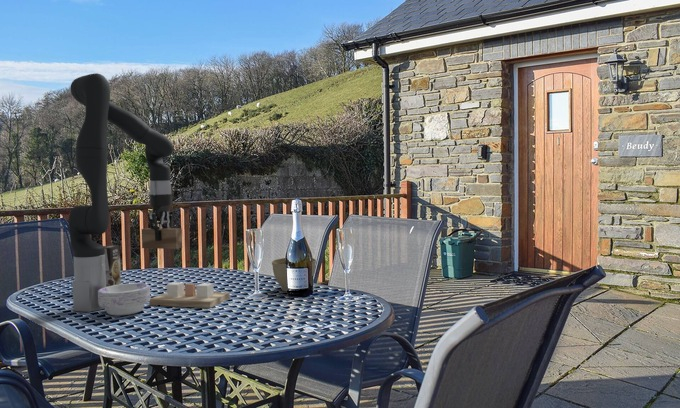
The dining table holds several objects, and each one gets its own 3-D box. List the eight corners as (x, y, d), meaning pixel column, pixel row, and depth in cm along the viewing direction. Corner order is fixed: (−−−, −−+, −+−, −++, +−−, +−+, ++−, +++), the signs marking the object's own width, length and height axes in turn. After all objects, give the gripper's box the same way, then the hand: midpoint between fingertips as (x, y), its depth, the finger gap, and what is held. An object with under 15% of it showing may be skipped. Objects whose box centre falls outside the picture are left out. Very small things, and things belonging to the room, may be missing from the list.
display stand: (210, 308, 177) (209, 289, 177) (149, 305, 183) (148, 286, 183) (229, 298, 191) (229, 281, 190) (173, 295, 196) (172, 279, 196)
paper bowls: (92, 312, 175) (91, 287, 174) (140, 304, 184) (139, 280, 184) (107, 321, 163) (106, 294, 163) (158, 312, 173) (157, 287, 172)
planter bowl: (293, 283, 215) (293, 255, 214) (325, 288, 205) (325, 259, 204) (263, 290, 202) (262, 261, 202) (295, 296, 192) (294, 265, 192)
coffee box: (111, 291, 207) (110, 248, 206) (94, 291, 207) (92, 248, 206) (121, 286, 216) (120, 244, 215) (105, 286, 216) (103, 245, 215)
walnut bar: (176, 248, 200) (175, 229, 199) (142, 248, 203) (141, 229, 203) (182, 247, 204) (181, 228, 203) (148, 246, 207) (147, 228, 207)
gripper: (162, 192, 210) (163, 238, 211) (139, 194, 196) (141, 242, 197) (180, 192, 208) (181, 238, 209) (158, 193, 195) (160, 242, 195)
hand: (161, 240), depth 203 cm, fingers closed on walnut bar, 4 cm apart
